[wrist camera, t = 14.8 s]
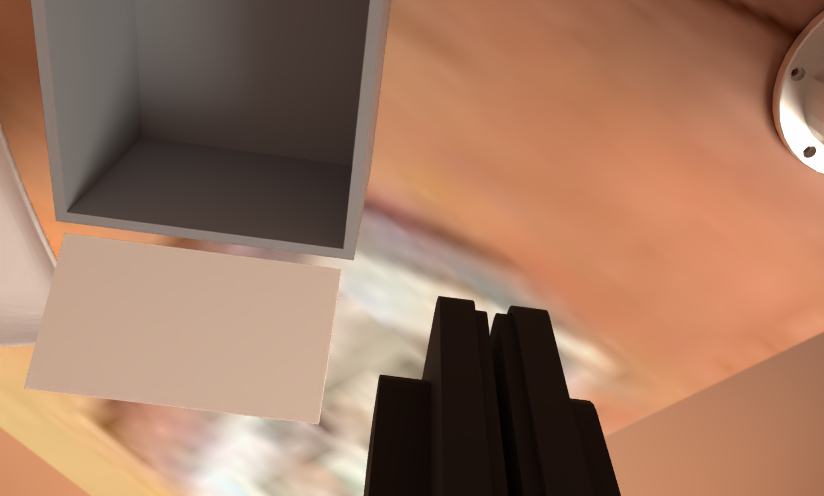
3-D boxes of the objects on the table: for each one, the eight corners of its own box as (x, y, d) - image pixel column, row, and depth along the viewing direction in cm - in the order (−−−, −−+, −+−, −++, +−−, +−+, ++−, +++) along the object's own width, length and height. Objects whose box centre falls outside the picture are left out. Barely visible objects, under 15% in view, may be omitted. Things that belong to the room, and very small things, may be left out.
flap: (318, 423, 37) (318, 424, 37) (340, 269, 39) (341, 271, 40) (24, 387, 36) (28, 388, 37) (64, 232, 38) (68, 236, 39)
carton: (404, -117, 41) (395, -104, 31) (369, 172, 50) (353, 259, 39) (120, -161, 40) (11, -163, 30) (136, 140, 49) (56, 220, 39)
